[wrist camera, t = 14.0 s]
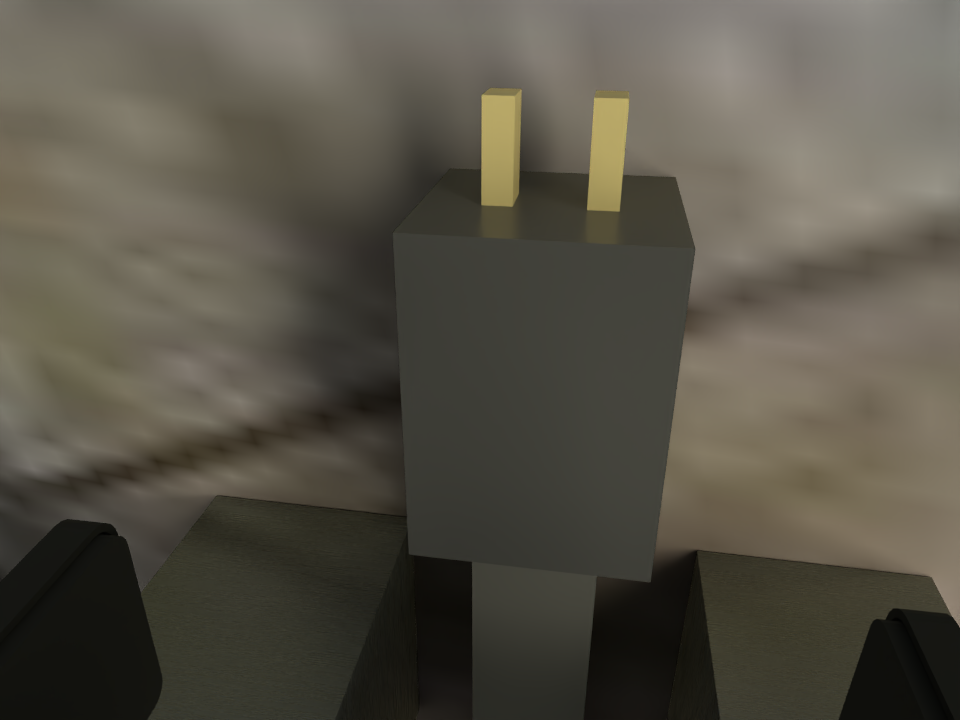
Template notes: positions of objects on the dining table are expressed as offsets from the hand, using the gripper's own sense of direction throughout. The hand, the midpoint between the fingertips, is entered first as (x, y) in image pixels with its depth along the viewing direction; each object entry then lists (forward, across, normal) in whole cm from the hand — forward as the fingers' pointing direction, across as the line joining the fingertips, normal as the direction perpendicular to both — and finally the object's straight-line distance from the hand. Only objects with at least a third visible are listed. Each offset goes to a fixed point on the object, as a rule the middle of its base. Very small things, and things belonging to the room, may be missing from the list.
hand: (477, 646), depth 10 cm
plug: (+10, 0, +6) cm, 12 cm away
